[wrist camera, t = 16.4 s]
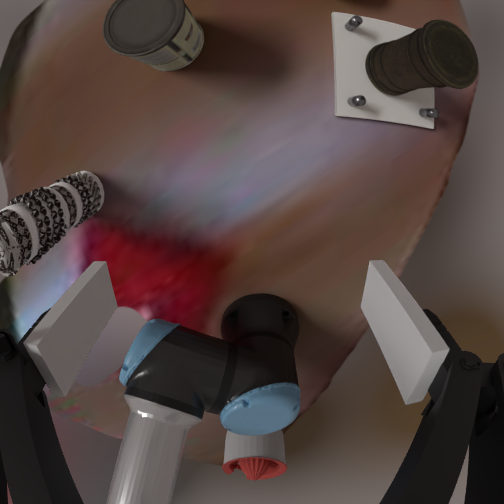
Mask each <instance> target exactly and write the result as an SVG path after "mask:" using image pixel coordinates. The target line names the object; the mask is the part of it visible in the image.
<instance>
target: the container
mask: <svg viewBox="0 0 504 504" xmlns="http://www.w3.org/2000/svg"><path fill="white" fill-rule="evenodd" d="M365 68H366V73H367V75H368V78H369V80H370V81H371V83H372V84H373V85H374V87H375V88H376V89H378V90H379V91H380V92H382V93H384V94H387V95H391V96H398V95H402V94H405V93H408V92H410V91H414V90H416V89H422V88H433V87H439V88H441V87H446V86H448V87H452V88H456V89H462V88H466V87H468V86H470V85H471V84H472V83H473V82H474V81H475V79H476V77H477V74H478V58H477V54H476V51H475V48H474V46H473V44H472V43H471V41H470V39H469V38H468V37H467V35H466V34H465V33H464V32H463V31H462V30H461V29H460V28H458V27H457V26H456V25H454V24H452V23H450V22H448V21H444V20H432V21H430V22H428V23H426V24H425V25H424V26H423V28H420V29H416V30H415V31H413V32H412V33H410V34H408V35H406V36H403V37H401V38H399V39H397V40H392V41H389V42H384V43H381V44H378V45H376V46H374V47H373V48H372V49H371V50H370V51H369V52H368V54H367V57H366V61H365Z"/></svg>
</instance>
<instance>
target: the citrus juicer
mask: <svg viewBox="0 0 504 504" xmlns="http://www.w3.org/2000/svg"><path fill="white" fill-rule="evenodd" d="M236 468H237V469H240V470H242V471H243V472H244V473H245V474H246V475H247V479H252V480H257V479H268V478H272V477H276V476H279V475H281V474H283V473H284V472H285V471H286V469H287V466H286V464H285V449H284V438H283V433H282V429H281V430H278V431H276V432H272V433H269V434H265V435H257V436H246V435H239V434H235V433H232V432H230V431H229V430H228V431H227V435H226V441H225V455H224V465H223V470H224V472H225V473H227V474H230V473H232V472H233V471H234V469H236Z"/></svg>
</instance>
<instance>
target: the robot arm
mask: <svg viewBox="0 0 504 504" xmlns="http://www.w3.org/2000/svg"><path fill="white" fill-rule="evenodd" d="M117 307H118V306H117V303H116V299H115V295H114V292H113V288H112V284H111V280H110V276H109V272H108V267H107V263H106V262H99V261H94V262H93V263H92V264H91V265H90V266H89V267H88V268H87V269H86V270H85V271H84V272H83V274H82V275H81V276H80V277H79V278H78V279H77V280H76V281H75V282H74V283H73V284H72V285H71V287H70V288H69V289H68V290H67V291H66V292H65V293H64V294H63V295H62V297H61V298H60V299H59V300H58V301H57V302H56V303H55V305H54V306H53V307H52V308H50V309H49V310H47V311H46V312H44V313H43V314H42V315H41V316H40V317H39V318H38V319H37V321H36V322H35V323H34V324H33V325H32V328H30V329H29V330H28V331H27V333H26V334H25V335H24V336H23V338H22V339H21V340H20V341H19V343H18V344H16V342H15V340H14V338H13V336H12V334H11V332H10V331H9V330H8V329H0V504H8V496H7V484H8V487H9V491H10V495H11V499H12V502H13V504H84V503H83V501H82V499H81V497H80V495H79V493H78V490H77V488H76V486H75V484H74V481H73V479H72V476H71V474H70V471H69V469H68V466H67V463H66V461H65V458H64V455H63V452H62V450H61V447H60V444H59V441H58V437H57V434H56V431H55V428H54V424H53V421H52V417H51V414H50V410H49V406H48V402H47V397H46V394H45V392H44V391H43V387H44V386H45V384H47V386H48V388H49V389H50V391H51V392H52V393H54V394H57V395H61V396H64V397H66V395H67V393H68V391H69V389H70V387H71V386H72V384H73V382H74V380H75V378H76V376H77V374H78V373H79V371H80V369H81V367H82V365H83V364H84V362H85V360H86V358H87V357H88V355H89V353H90V351H91V349H92V348H93V346H94V344H95V343H96V341H97V339H98V338H99V336H100V334H101V332H102V331H103V329H104V328H105V326H106V324H107V323H108V321H109V319H110V318H111V316H112V314H113V313H114V311H115V310H116V308H117ZM361 309H362V311H363V313H364V315H365V317H366V319H367V321H368V323H369V325H370V327H371V329H372V331H373V333H374V335H375V337H376V340H377V342H378V344H379V346H380V348H381V350H382V352H383V354H384V357H385V359H386V361H387V363H388V365H389V367H390V370H391V372H392V374H393V377H394V379H395V381H396V383H397V386H398V388H399V390H400V393H401V395H402V397H403V400H404V402H405V404H406V405H407V404H411V403H415V402H420V401H422V400H423V398H424V397H425V395H426V393H427V392H429V394H430V396H431V400H430V401H429V403H428V404H427V406H426V408H425V409H424V411H423V412H422V414H421V415H424V416H423V418H422V421H421V423H420V425H419V428H418V430H417V433H416V435H415V437H414V439H413V442H412V444H411V446H410V448H409V450H408V453H407V455H406V457H405V458H404V461H403V463H402V464H401V466H400V468H399V471H398V472H397V474H396V476H395V478H394V480H393V481H392V483H391V485H390V487H389V489H388V490H387V492H386V494H385V495H384V497H383V499H382V500H381V502H380V504H448V503H449V501H450V498H451V496H452V494H453V491H454V488H455V486H456V483H457V480H458V477H459V475H460V472H461V469H462V465H463V462H464V459H465V456H466V452H467V449H468V445H469V463H468V476H467V487H466V494H465V503H464V504H504V353H503V354H501V355H500V356H499V357H498V359H497V361H496V363H482V361H481V359H480V358H479V357H478V356H477V355H476V354H474V353H471V352H468V351H462V350H461V348H460V347H459V346H458V344H457V343H456V341H455V340H454V339H453V337H452V336H451V334H450V333H449V332H448V331H447V330H446V328H445V326H444V325H442V322H441V321H440V320H439V319H438V317H437V316H436V315H435V314H434V313H432V312H431V311H430V310H428V309H423V310H422V309H421V308H420V306H419V305H418V304H417V302H416V301H415V300H414V298H413V297H412V296H411V294H410V293H409V292H408V291H407V289H406V288H405V287H404V285H403V284H402V283H401V282H400V280H399V279H398V278H397V276H396V275H395V274H394V273H393V271H392V270H391V269H390V268H389V266H388V265H387V264H386V263H385V262H384V260H370V262H369V267H368V273H367V278H366V283H365V288H364V293H363V298H362V303H361ZM221 334H222V338H223V340H222V339H219V338H216V337H212V336H209V335H206V334H203V333H200V332H197V331H195V330H192V329H189V328H186V327H184V326H181V324H178V323H177V324H175V323H171V322H168V321H165V320H162V319H152V320H150V321H148V322H147V323H146V324H145V325H144V326H143V327H142V329H141V330H140V332H139V333H138V335H137V336H136V338H135V340H134V341H133V343H132V345H131V347H130V349H129V351H128V353H127V356H126V358H125V361H124V364H123V367H122V369H121V372H120V376H119V380H120V382H121V383H122V384H123V385H124V386H127V389H126V392H125V395H124V398H125V400H126V402H127V403H128V405H129V407H130V411H131V412H130V415H129V419H128V422H127V426H126V429H125V433H124V436H123V440H122V444H121V447H120V451H119V455H118V458H117V462H116V466H115V470H114V474H113V478H112V482H111V486H110V491H109V495H108V500H107V504H170V502H171V498H172V494H173V490H174V485H175V481H176V477H177V472H178V469H179V465H180V461H181V457H182V453H183V449H184V445H185V441H186V437H187V433H188V430H189V429H190V428H191V427H193V426H195V425H197V424H198V423H200V422H201V421H202V417H203V413H204V411H206V412H210V413H214V414H218V415H220V421H221V423H222V425H223V427H225V428H226V429H228V430H229V431H230V432H232V433H235V434H239V435H246V436H257V435H265V434H269V433H272V432H276V431H278V430H281V429H283V428H285V427H286V426H288V425H289V424H291V423H292V422H293V421H294V420H295V419H296V417H297V415H298V414H299V411H300V388H299V385H298V378H297V371H296V365H295V358H294V352H293V350H294V347H295V344H296V341H297V337H298V334H299V323H298V318H297V314H296V312H295V310H294V309H293V307H292V306H291V305H290V304H289V303H288V302H286V301H285V300H283V299H281V298H279V297H277V296H273V295H269V294H252V295H247V296H244V297H242V298H239V299H238V300H236V301H234V302H233V303H232V304H231V305H230V306H229V307H228V308H227V309H226V311H225V312H224V315H223V318H222V324H221Z"/></svg>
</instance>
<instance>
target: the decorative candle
mask: <svg viewBox="0 0 504 504" xmlns="http://www.w3.org/2000/svg"><path fill="white" fill-rule="evenodd" d="M104 194H105V193H104V189H103V185H102V183H101V181H100V180H99V178H98V177H97V176H96V175H94V174H93V173H92V172H88V171H81V172H77V173H75V174H72V175H71V177H70V176H69V175H68V176H67V178H66V179H65V178H61V180H56V182H55V184H53V185H50V186H49V187H40V188H39V189H35V190H33V191H32V192H31V193H30V192H28V193H25V194H24V195H19V196H18V197H16V198H15V199H12V200H11V202H10V205H8V206H7V207H6V208H4V209H2V210H1V211H0V273H1V274H3V275H5V276H14V275H15V274H16V273H17V272H18V270H19V268H20V267H21V266H22V265H24V264H27V265H30V261H31V262H32V263H33V264H35V263H36V261H37V260H39V259H41V257H42V254H43V255H44V254H46V253H47V252H48V251H49V249H50V248H52V247H53V246H54V244H55V243H58V242H59V241H60V240H61V238H62V237H63V236H65V234H66V233H67V230H70V229H71V228H73V227H75V228H76V227H78V224H82V223H83V221H86V220H87V219H88V218H90V217H91V216H92V215H93V214H95V213H97V211H99V210H100V208H101V206H102V204H103V203H104ZM37 254H38V255H37Z"/></svg>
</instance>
